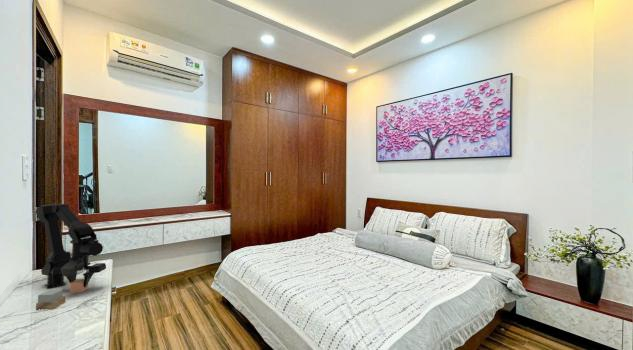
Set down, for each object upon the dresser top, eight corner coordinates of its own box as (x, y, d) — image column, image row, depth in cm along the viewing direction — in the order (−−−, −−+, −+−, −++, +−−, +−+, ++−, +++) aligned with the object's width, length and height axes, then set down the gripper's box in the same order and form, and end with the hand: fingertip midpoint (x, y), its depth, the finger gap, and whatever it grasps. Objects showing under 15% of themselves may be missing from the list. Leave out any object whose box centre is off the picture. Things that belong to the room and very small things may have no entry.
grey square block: (37, 302, 103) (38, 295, 103) (48, 297, 108) (49, 289, 108) (52, 302, 103) (52, 294, 103) (62, 296, 108) (62, 289, 108)
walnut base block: (35, 311, 102) (36, 303, 102) (48, 303, 108) (49, 296, 108) (53, 310, 103) (53, 302, 103) (65, 303, 109) (65, 295, 109)
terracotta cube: (69, 292, 118) (70, 282, 118) (77, 288, 122) (77, 279, 122) (81, 292, 118) (81, 282, 119) (88, 288, 123) (88, 278, 123)
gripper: (42, 259, 111) (40, 296, 111) (91, 257, 114) (90, 293, 114) (62, 251, 122) (61, 285, 122) (107, 250, 125) (106, 283, 125)
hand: (79, 287), depth 120 cm, fingers closed on terracotta cube, 4 cm apart
